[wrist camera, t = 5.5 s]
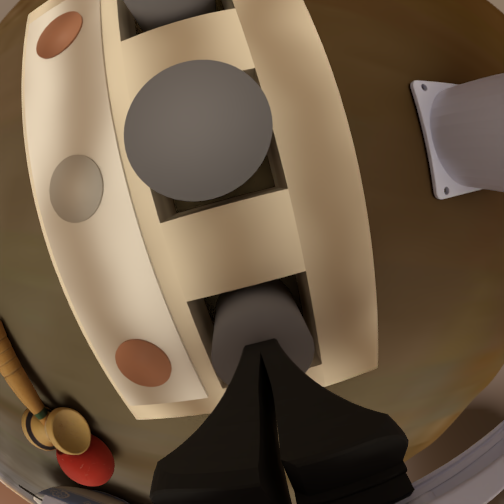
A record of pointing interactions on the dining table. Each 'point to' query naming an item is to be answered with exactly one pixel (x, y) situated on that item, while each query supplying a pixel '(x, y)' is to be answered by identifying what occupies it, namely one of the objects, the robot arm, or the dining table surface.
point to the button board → (201, 218)
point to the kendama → (57, 426)
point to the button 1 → (167, 11)
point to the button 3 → (258, 326)
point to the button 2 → (198, 130)
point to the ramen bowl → (77, 496)
